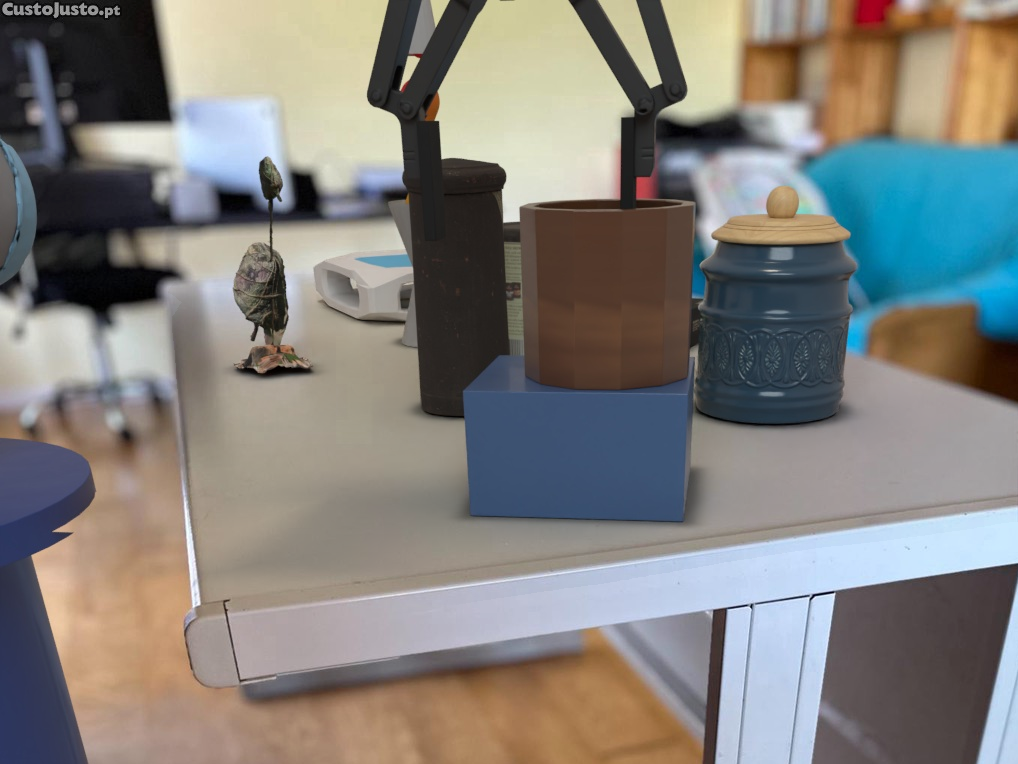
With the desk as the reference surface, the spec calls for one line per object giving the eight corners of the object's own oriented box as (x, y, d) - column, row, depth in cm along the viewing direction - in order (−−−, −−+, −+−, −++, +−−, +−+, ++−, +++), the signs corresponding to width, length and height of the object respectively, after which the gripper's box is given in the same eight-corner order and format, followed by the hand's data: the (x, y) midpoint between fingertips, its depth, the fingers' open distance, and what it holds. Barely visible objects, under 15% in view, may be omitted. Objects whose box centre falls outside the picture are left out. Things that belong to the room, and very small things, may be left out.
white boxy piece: (448, 290, 169) (445, 246, 166) (522, 313, 147) (521, 263, 144) (315, 300, 161) (310, 254, 158) (372, 327, 139) (367, 274, 136)
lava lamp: (456, 349, 125) (432, -24, 107) (386, 345, 127) (352, -18, 110) (487, 336, 132) (470, -15, 114) (421, 333, 135) (394, -10, 117)
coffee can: (601, 369, 113) (601, 219, 106) (585, 390, 104) (584, 228, 97) (505, 367, 115) (499, 219, 108) (481, 388, 106) (473, 228, 99)
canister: (664, 412, 96) (671, 188, 87) (742, 387, 104) (756, 180, 96) (795, 434, 89) (817, 191, 80) (867, 405, 97) (894, 183, 88)
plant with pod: (305, 356, 123) (279, 154, 113) (318, 375, 113) (290, 156, 103) (231, 362, 120) (198, 156, 110) (238, 381, 111) (202, 158, 101)
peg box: (470, 515, 72) (458, 331, 66) (503, 466, 82) (496, 302, 76) (683, 521, 70) (690, 332, 64) (690, 470, 80) (697, 303, 74)
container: (532, 401, 101) (525, 155, 91) (482, 422, 94) (468, 159, 84) (453, 393, 104) (438, 156, 94) (399, 413, 97) (377, 160, 87)
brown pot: (513, 389, 68) (506, 211, 63) (541, 357, 77) (537, 199, 72) (683, 391, 67) (690, 209, 62) (691, 358, 76) (698, 197, 71)
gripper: (746, -209, 59) (723, 232, 70) (324, -185, 62) (364, 234, 73) (747, -249, 53) (721, 243, 64) (276, -220, 56) (328, 245, 67)
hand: (530, 239), depth 68 cm, fingers open, 12 cm apart
